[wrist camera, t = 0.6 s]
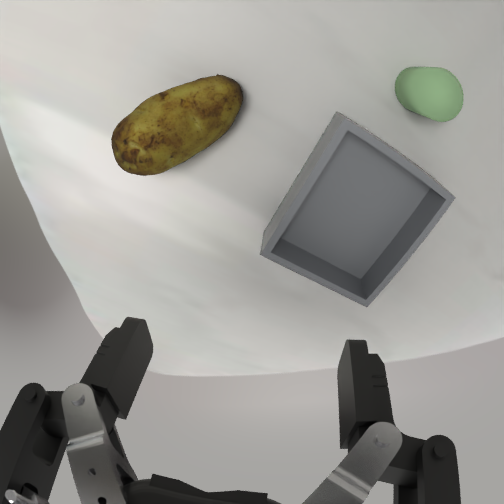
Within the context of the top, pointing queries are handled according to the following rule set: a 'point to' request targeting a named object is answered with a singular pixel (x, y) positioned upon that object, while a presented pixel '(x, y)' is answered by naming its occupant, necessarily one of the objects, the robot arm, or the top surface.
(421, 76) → the cucumber chunk
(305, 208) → the bin
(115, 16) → the top surface
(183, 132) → the potato
